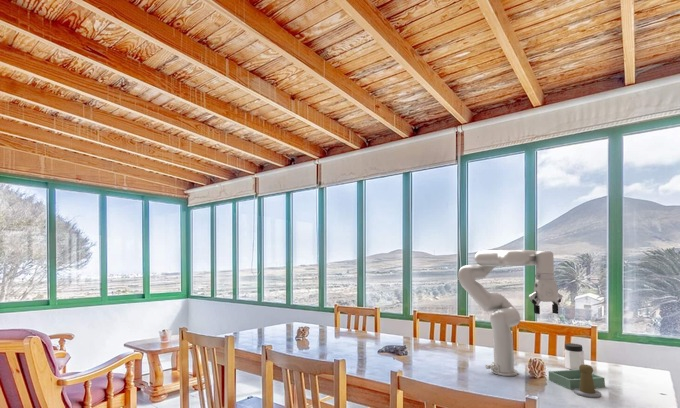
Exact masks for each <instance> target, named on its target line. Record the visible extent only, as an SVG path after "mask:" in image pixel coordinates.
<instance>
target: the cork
mask: <svg viewBox="0 0 680 408" xmlns="http://www.w3.org/2000/svg"><path fill="white" fill-rule="evenodd" d="M579 370H580V372H581V377H580V391H581V392H583V393H588V394H594V393H596V391H595V390H596V388H595V387H594V382H593V377H592V373H593V372H594V369H593V366H591V365H589V364H586V363H584V364H583V365H580V366H579ZM593 374H594V373H593Z"/></svg>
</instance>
